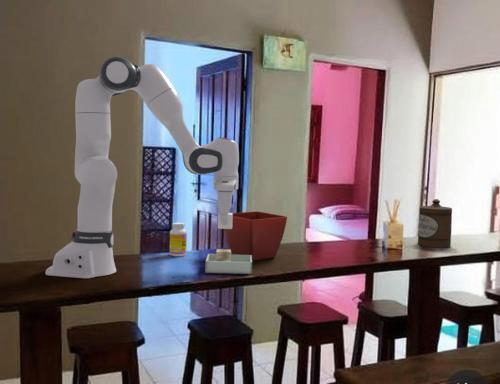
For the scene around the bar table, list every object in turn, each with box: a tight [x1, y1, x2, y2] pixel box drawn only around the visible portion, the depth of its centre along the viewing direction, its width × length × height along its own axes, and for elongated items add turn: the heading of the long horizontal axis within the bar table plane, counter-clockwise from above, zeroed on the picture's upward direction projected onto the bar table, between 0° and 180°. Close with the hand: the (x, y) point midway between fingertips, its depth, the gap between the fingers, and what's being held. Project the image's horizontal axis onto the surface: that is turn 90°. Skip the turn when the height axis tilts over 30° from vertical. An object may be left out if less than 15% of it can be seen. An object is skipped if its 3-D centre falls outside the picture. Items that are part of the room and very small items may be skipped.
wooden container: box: [417, 198, 453, 249], centre depth 251 cm, size 15×15×22 cm
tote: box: [204, 253, 253, 275], centre depth 188 cm, size 16×13×4 cm
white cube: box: [217, 212, 234, 230], centre depth 187 cm, size 5×5×5 cm
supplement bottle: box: [169, 222, 188, 257], centre depth 209 cm, size 7×7×13 cm
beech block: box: [215, 248, 232, 262], centre depth 188 cm, size 5×5×6 cm
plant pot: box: [224, 210, 288, 262], centre depth 210 cm, size 19×19×17 cm
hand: (225, 223), depth 187 cm, fingers closed on white cube, 5 cm apart
